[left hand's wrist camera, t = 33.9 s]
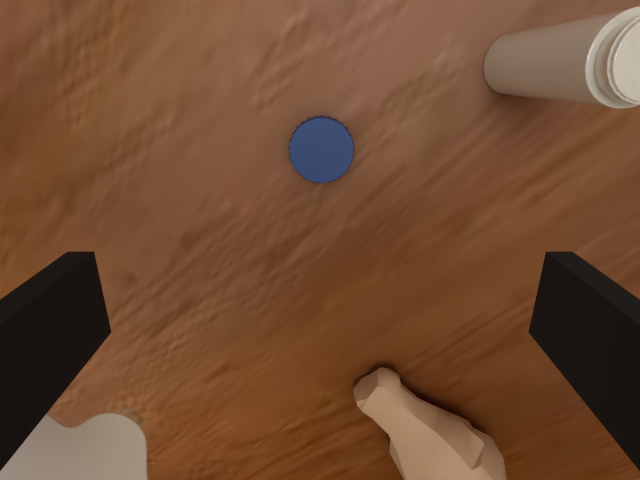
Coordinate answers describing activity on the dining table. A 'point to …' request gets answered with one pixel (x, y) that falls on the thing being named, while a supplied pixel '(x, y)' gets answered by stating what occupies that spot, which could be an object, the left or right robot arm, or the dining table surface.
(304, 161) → the lid
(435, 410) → the squash
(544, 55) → the jar
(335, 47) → the dining table surface
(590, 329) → the left robot arm
